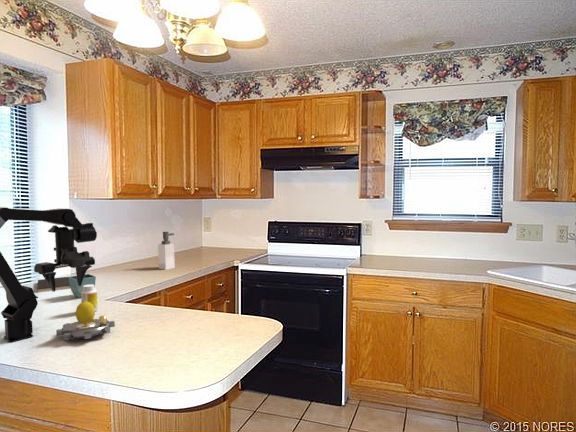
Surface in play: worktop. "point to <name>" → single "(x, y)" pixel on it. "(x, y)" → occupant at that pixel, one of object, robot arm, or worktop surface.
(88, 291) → the supplement bottle
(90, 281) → the flower pot
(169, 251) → the soap dispenser
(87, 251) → the robot arm
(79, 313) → the lemon
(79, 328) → the sprocket
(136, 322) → the worktop surface
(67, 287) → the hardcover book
